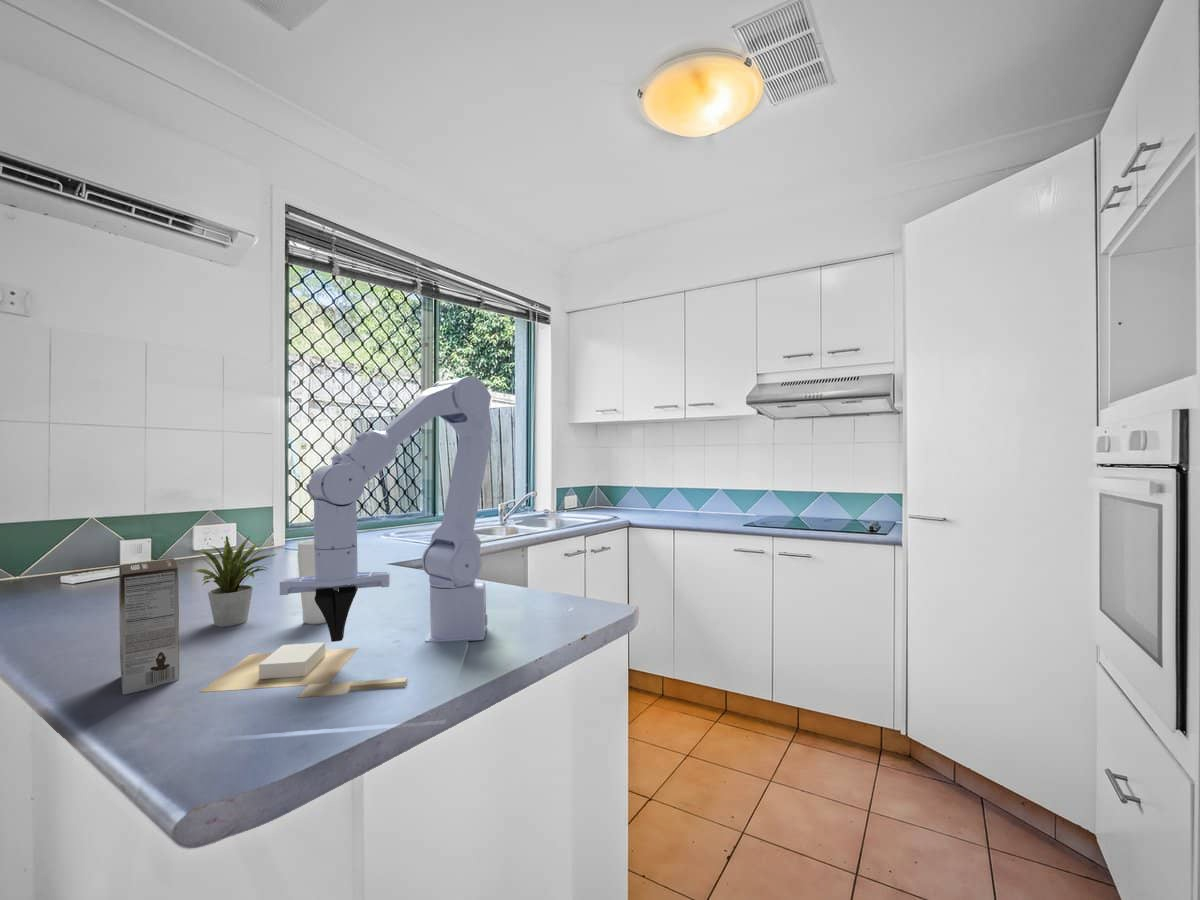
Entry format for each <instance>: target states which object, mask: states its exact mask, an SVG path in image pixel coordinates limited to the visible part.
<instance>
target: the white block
mask: <svg viewBox="0 0 1200 900" xmlns="http://www.w3.org/2000/svg"><path fill="white" fill-rule="evenodd" d="M325 650H326V642H310V643H308V642H307V643H293V644H291V643H290V644H282V645H281V646H280V647H279V648H277V649H276V650H275V651H274V652H272V653H273V654H271V655H270V656H269V657H268V658H266V659H265V660H264V661H263V662H261V663H260V664H259V679H268V678H284V677H300V676H306V675H307V674H308V673H309V672H310V671H311V670H312V669H313V668H314V667H315V666H316V665H317V664H318V663H319V662H320V661H321V659H322V658H323V657H324V656H325Z"/></svg>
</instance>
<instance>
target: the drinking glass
mask: <svg viewBox="0 0 1200 900" xmlns="http://www.w3.org/2000/svg"><path fill="white" fill-rule="evenodd" d="M297 570H298V578H299V577H307V576H315V553H314V538H313V539H307V540H301V541H299V542H298V543H297ZM315 594H316V592H303V593H300V597H301V598H300V600H301V609H302V621H303V623H305V625H309V626H310V625H312V626H314V625H321V624H327V623H326V620H325V618H324V616H323V614H322V612H321V610H320V609H319V607H318V606H317V604H316V602H315V599H314V597H315Z"/></svg>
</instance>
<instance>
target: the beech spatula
mask: <svg viewBox="0 0 1200 900" xmlns="http://www.w3.org/2000/svg"><path fill="white" fill-rule="evenodd" d="M407 685H408V677H406V676H405V677H396V678H395V677H394V678H383V679H381V678H380V679H370V680H357V681H356V680H348V681H347V680H346V681H337V682H330V683H322V684H310V685H306V687H305V688H304V689H303V690H302V691H301V692H300V693H299V695H298V696H297V697H296V699H303V698H304V699H305V698H317V697H331V696H332V697H333V696H346V695H348V694H349V693H350V692H351V691H361V690H376V689H377V690H378V689H390V688H391V689H392V688H405V687H406V686H407Z"/></svg>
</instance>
